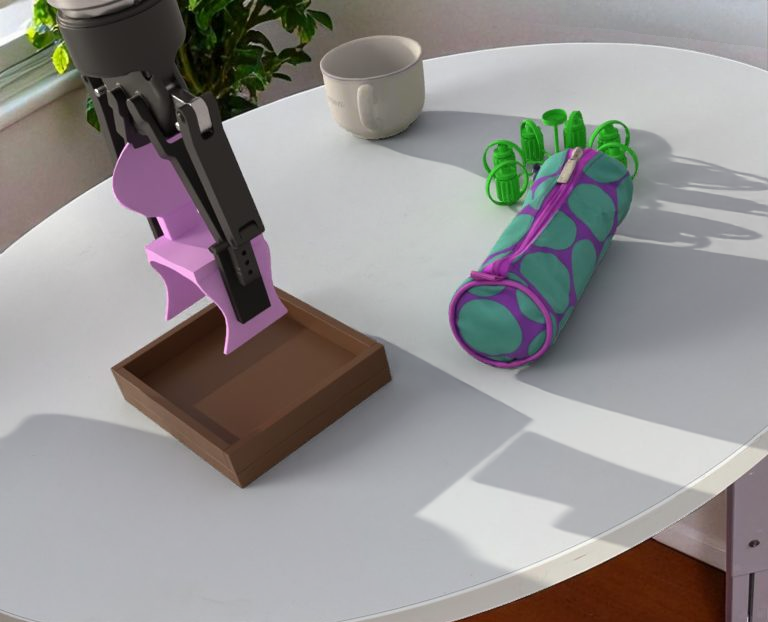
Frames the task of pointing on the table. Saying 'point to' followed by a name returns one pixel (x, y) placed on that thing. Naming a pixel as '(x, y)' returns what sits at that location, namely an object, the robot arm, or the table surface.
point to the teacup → (375, 85)
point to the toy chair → (186, 242)
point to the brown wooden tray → (252, 384)
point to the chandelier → (535, 150)
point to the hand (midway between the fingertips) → (220, 293)
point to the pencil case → (542, 259)
